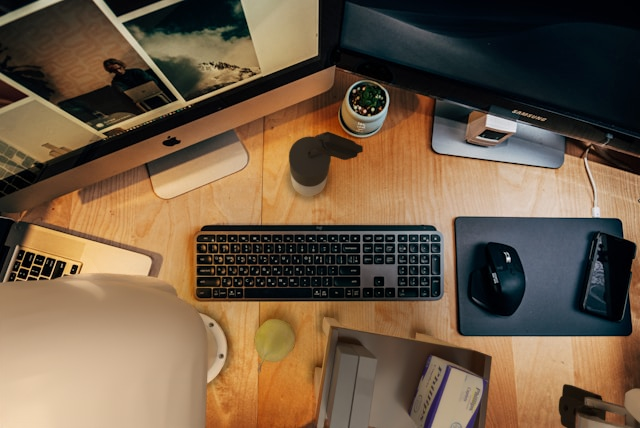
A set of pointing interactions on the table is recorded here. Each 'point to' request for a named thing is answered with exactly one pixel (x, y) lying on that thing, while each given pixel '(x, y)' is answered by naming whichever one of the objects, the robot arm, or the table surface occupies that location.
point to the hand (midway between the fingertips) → (624, 414)
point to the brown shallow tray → (398, 374)
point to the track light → (317, 160)
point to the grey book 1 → (342, 386)
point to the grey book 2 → (363, 388)
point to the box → (446, 396)
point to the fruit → (274, 341)
